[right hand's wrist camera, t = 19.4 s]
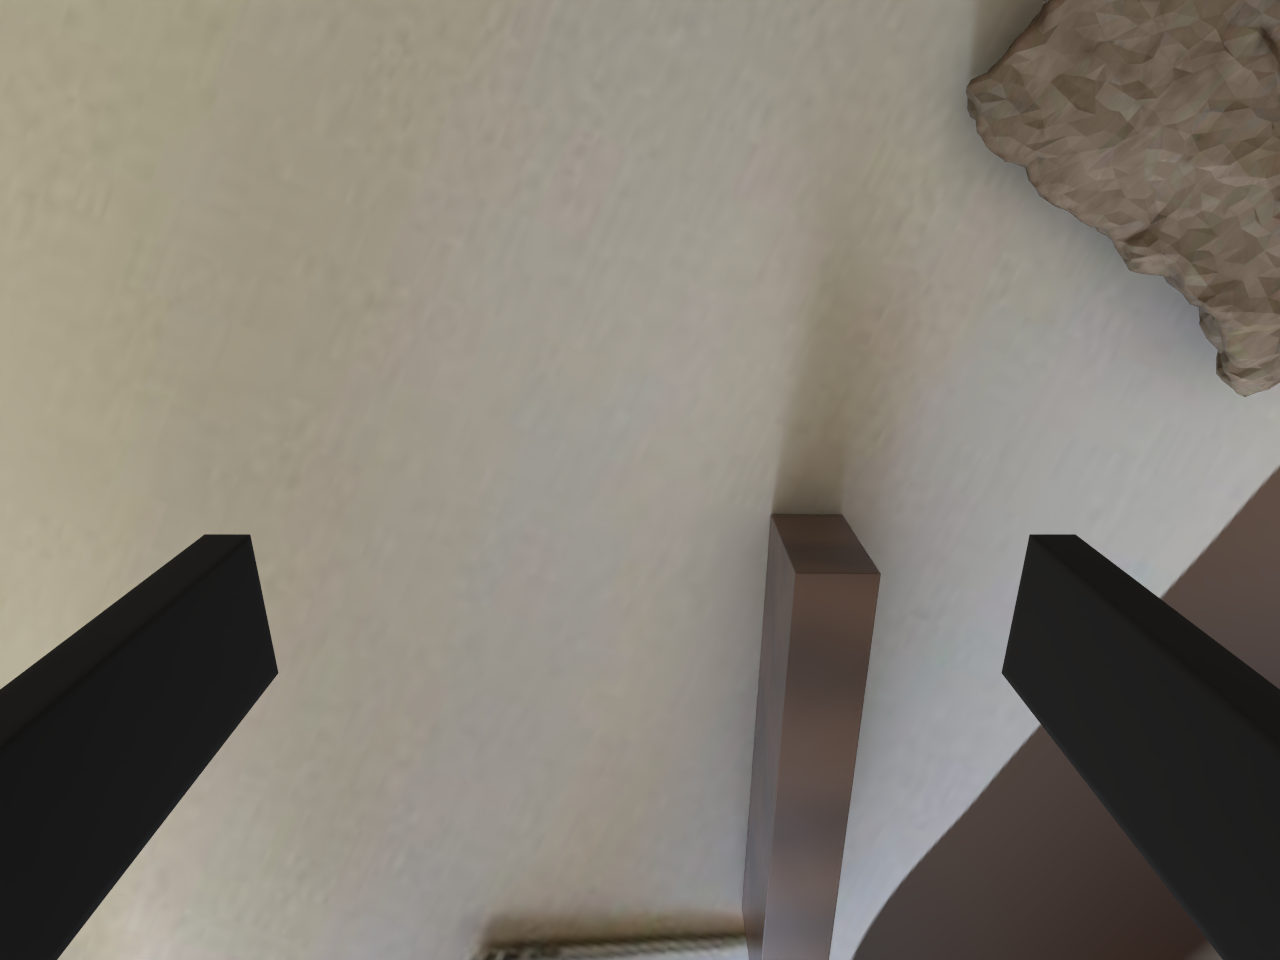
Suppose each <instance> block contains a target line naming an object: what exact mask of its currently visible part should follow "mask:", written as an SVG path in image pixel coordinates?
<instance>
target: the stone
mask: <svg viewBox="0 0 1280 960" xmlns="http://www.w3.org/2000/svg"><path fill="white" fill-rule="evenodd" d="M966 93H967V97H968V111H969V114H970V117H972V118H974V119H975V120H976V127H977V133H978V134H979V135H980V136H981V137H982V139H983V141H984V143H985V145H986V146H987V147H988V148H989V149H990V150H991V151H992V152H993V153H995V154H996V155H998V156H999V157H1001V158H1002V159H1004V161H1006V162H1012V163H1015V164H1018V165H1021V166H1024V167H1025V168H1026V172H1027V175H1028V179H1029V181H1030V182H1031V183H1032V184H1033V185H1034V187H1035V188H1036V190H1037V192H1038V193H1039V195H1040V196H1041V197H1042V198H1044V199H1045V200H1047V201H1048V202H1050V203H1051V204H1053V205H1054V206H1057V207H1059V208H1062V209H1064V210H1067V211H1069V212H1070V213H1071V214H1073V215H1074V216H1075V217H1076V218H1078V219H1079V220H1080V221H1081V222H1083V223H1085V224H1087V225H1088V226H1090V227H1096V229H1097V231H1099V232H1101V233H1102V234H1104V235H1106V236H1108V237H1109V238H1110V239H1111V240H1112V241H1113V243H1114V246H1115V248H1116V250H1117V251H1118V252H1119V254H1120V255H1121V257H1122V258H1123V259H1124V261H1125V263H1126V265H1127V267H1128V268H1129V270H1130V271H1133V272H1137V273H1143V274H1151V275H1161V276H1164V277H1165V279H1166V281H1167V283H1169V284H1170V285H1171V286H1173V287H1174V288H1176V289H1177V290H1178V291H1180V292H1181V293H1182V294H1183V295H1184V296H1185V298H1186V299H1187V300H1188V302H1189V303H1190V304H1191V305H1194V306H1197V307H1199V317H1200V326H1201V328H1202V330H1203V332H1204V334H1205V336H1206V338H1207V339H1208V340H1209V341H1210V342H1211V343H1212V344H1213V345H1214V346H1215V347H1216V348H1217V349H1218V353H1217V357H1216V373H1217V375H1218V376H1219V377H1220V378H1221V379H1222V381H1224V382H1225V383H1226V384H1228V385H1229V386H1230V387H1231V388H1233V389H1234V390H1235V392H1236V393H1238V394H1240V395H1242V396H1244V397H1246V396H1249V395H1251V394H1253V393H1256V392H1260V391H1264V390H1268V389H1270V388H1272V387H1273V386H1275V385H1276V384H1278V383H1280V0H1050V1H1049V2H1047V3H1045V4H1044V6H1043V8H1042V10H1041V12H1040V13H1039V14H1038V15H1037V16H1036V17H1035V18H1034V20H1033V21H1032V22H1031V24H1030V25H1029V26H1028V28H1027V29H1026V30H1025V31H1024V32H1023V33H1022V34H1021V35H1020V36H1019V37H1018V38H1016V40H1015V41H1014V42H1013V43H1012V45H1011V46H1010V47H1009V49H1008V51H1007V53H1006V54H1005V55H1004V56H1003V57H1002V58H1001V60H999V61H998V62H997V63H996V64H995V65H994V66H992V67H991V68H990V69H989V71H988V72H987V73H985V74H983V75H981V76H978V77H976V78H974V79H973V80H971V81H970V83H969V84H968V86H967V89H966Z"/></svg>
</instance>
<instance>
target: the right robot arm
mask: <svg viewBox="0 0 1280 960" xmlns="http://www.w3.org/2000/svg"><path fill="white" fill-rule="evenodd" d="M277 674H278V669H277V664H276V659H275V654H274V650H273V645H272V640H271V635H270V630H269V625H268V620H267V615H266V610H265V605H264V600H263V595H262V590H261V586H260V581H259V576H258V571H257V566H256V561H255V556H254V551H253V546H252V541H251V536H250V535H203V536H202V537H201V538H200V539H198V540H197V541H196V542H194V543H193V544H192V545H190V546H189V547H188V548H186V549H185V550H184V551H182V552H181V553H180V554H178V555H177V556H176V557H174V558H173V559H172V560H171V561H169V562H168V563H167V564H165V565H164V566H163V567H161V568H160V569H159V570H157V571H156V572H155V573H153V574H152V575H151V576H149V577H148V578H147V579H145V580H144V581H143V582H142V583H140V584H139V585H138V586H136V587H135V588H134V589H132V590H131V591H130V592H128V593H127V594H126V595H124V596H123V597H122V598H120V599H119V600H118V601H116V602H115V603H114V604H113V605H111V606H110V607H109V608H107V609H106V610H105V611H103V612H102V613H101V614H99V615H98V616H97V617H95V618H94V619H93V620H91V621H90V622H89V623H87V624H86V625H85V626H84V627H82V628H81V629H80V630H78V631H77V632H76V633H74V634H73V635H72V636H70V637H69V638H68V639H66V640H65V641H64V642H62V643H61V644H60V645H58V646H57V647H56V648H55V649H53V650H52V651H51V652H49V653H48V654H47V655H45V656H44V657H43V658H41V659H40V660H39V661H37V662H36V663H35V664H33V665H32V666H31V667H29V668H28V669H27V670H26V671H24V672H23V673H22V674H20V675H19V676H18V677H16V678H15V679H14V680H12V681H11V682H10V683H8V684H7V685H6V686H4V687H3V688H2V689H0V960H57V959H58V958H59V956H60V955H61V954H62V953H63V951H64V950H65V949H66V947H67V946H68V945H69V944H70V942H71V941H72V940H73V938H74V937H75V936H76V934H77V933H78V932H79V931H80V929H81V928H82V927H83V925H84V924H85V923H86V921H87V920H88V919H89V918H90V916H91V915H92V914H93V912H94V911H95V910H96V909H97V907H98V906H99V905H100V903H101V902H102V901H103V899H104V898H105V897H106V896H107V894H108V893H109V892H110V890H111V889H112V888H113V887H114V885H115V884H116V883H117V881H118V880H119V879H120V877H121V876H122V875H123V874H124V872H125V871H126V870H127V868H128V867H129V866H130V864H131V863H132V862H133V861H134V859H135V858H136V857H137V855H138V854H139V853H140V852H141V850H142V849H143V848H144V846H145V845H146V844H147V842H148V841H149V840H150V839H151V837H152V836H153V835H154V833H155V832H156V831H157V829H158V828H159V827H160V826H161V824H162V823H163V822H164V820H165V819H166V818H167V817H168V815H169V814H170V813H171V811H172V810H173V809H174V807H175V806H176V805H177V804H178V802H179V801H180V800H181V798H182V797H183V796H184V795H185V793H186V792H187V791H188V789H189V788H190V787H191V785H192V784H193V783H194V782H195V780H196V779H197V778H198V776H199V775H200V774H201V772H202V771H203V770H204V769H205V767H206V766H207V765H208V763H209V762H210V761H211V760H212V758H213V757H214V756H215V754H216V753H217V752H218V750H219V749H220V748H221V747H222V745H223V744H224V743H225V741H226V740H227V739H228V737H229V736H230V735H231V734H232V732H233V731H234V730H235V728H236V727H237V726H238V725H239V723H240V722H241V721H242V719H243V718H244V717H245V715H246V714H247V713H248V712H249V710H250V709H251V708H252V706H253V705H254V704H255V703H256V701H257V700H258V699H259V697H260V696H261V695H262V693H263V692H264V691H265V690H266V688H267V687H268V686H269V684H270V683H271V682H272V680H273V679H274V678H275V677H276V675H277ZM1002 674H1003V675H1004V677H1005V678H1006V679H1007V680H1008V682H1009V683H1010V684H1011V686H1012V687H1013V688H1014V690H1015V691H1016V692H1017V693H1018V695H1019V696H1020V697H1021V699H1022V700H1023V701H1024V703H1025V704H1026V705H1027V706H1028V708H1029V709H1030V710H1031V712H1032V713H1033V714H1034V715H1035V717H1036V718H1037V719H1038V721H1039V722H1040V723H1041V725H1042V726H1043V727H1044V728H1045V730H1046V731H1047V732H1048V734H1049V735H1050V736H1051V738H1052V739H1053V740H1054V741H1055V743H1056V744H1057V745H1058V747H1059V748H1060V749H1061V750H1062V752H1063V753H1064V754H1065V756H1066V757H1067V758H1068V759H1069V761H1070V762H1071V763H1072V765H1073V766H1074V767H1075V769H1076V770H1077V771H1078V772H1079V774H1080V775H1081V776H1082V778H1083V779H1084V780H1085V782H1086V783H1087V784H1088V785H1089V787H1090V788H1091V789H1092V791H1093V792H1094V793H1095V795H1096V796H1097V797H1098V798H1099V800H1100V801H1101V802H1102V804H1103V805H1104V806H1105V807H1106V809H1107V810H1108V811H1109V813H1110V814H1111V815H1112V817H1113V818H1114V819H1115V820H1116V822H1117V823H1118V824H1119V826H1120V827H1121V828H1122V829H1123V831H1124V832H1125V833H1126V835H1127V836H1128V837H1129V838H1130V840H1131V841H1132V842H1133V844H1134V845H1135V846H1136V848H1137V849H1138V850H1139V852H1140V853H1141V854H1142V855H1143V857H1144V858H1145V859H1146V861H1147V862H1148V863H1149V864H1150V866H1151V867H1152V868H1153V870H1154V871H1155V872H1156V874H1157V875H1158V876H1159V877H1160V879H1161V880H1162V881H1163V883H1164V884H1165V885H1166V887H1167V888H1168V889H1169V890H1170V892H1171V893H1172V894H1173V896H1174V897H1175V898H1176V899H1177V901H1178V902H1179V903H1180V905H1181V906H1182V907H1183V909H1184V910H1185V911H1186V912H1187V914H1188V915H1189V916H1190V918H1191V919H1192V920H1193V921H1194V923H1195V924H1196V925H1197V927H1198V928H1199V929H1200V931H1201V932H1202V933H1203V934H1204V936H1205V937H1206V938H1207V940H1208V941H1209V942H1210V943H1211V945H1212V946H1213V947H1214V949H1215V950H1216V951H1217V952H1218V954H1219V955H1220V956H1221V958H1222V959H1223V960H1280V689H1278V688H1277V687H1276V686H1274V685H1273V684H1272V683H1270V682H1269V681H1268V680H1266V679H1265V678H1264V677H1262V676H1261V675H1260V674H1258V673H1257V672H1256V671H1254V670H1253V669H1252V668H1251V667H1249V666H1248V665H1246V664H1245V663H1244V662H1243V661H1241V660H1240V659H1239V658H1237V657H1236V656H1235V655H1233V654H1232V653H1231V652H1229V651H1228V650H1227V649H1225V648H1224V647H1223V646H1221V645H1220V644H1219V643H1218V642H1216V641H1215V640H1214V639H1212V638H1211V637H1210V636H1208V635H1207V634H1206V633H1204V632H1203V631H1202V630H1200V629H1199V628H1198V627H1196V626H1195V625H1194V624H1193V623H1191V622H1190V621H1189V620H1187V619H1186V618H1185V617H1183V616H1182V615H1181V614H1179V613H1178V612H1177V611H1175V610H1174V609H1173V608H1171V607H1170V606H1169V605H1167V604H1166V603H1165V602H1164V601H1162V600H1161V599H1160V598H1158V597H1157V596H1156V595H1154V594H1153V593H1152V592H1150V591H1149V590H1148V589H1146V588H1145V587H1144V586H1142V585H1141V584H1140V583H1138V582H1137V581H1136V580H1135V579H1133V578H1132V577H1131V576H1129V575H1128V574H1127V573H1125V572H1124V571H1123V570H1121V569H1120V568H1119V567H1117V566H1116V565H1115V564H1113V563H1112V562H1111V561H1109V560H1108V559H1107V558H1106V557H1104V556H1103V555H1102V554H1100V553H1099V552H1098V551H1096V550H1095V549H1094V548H1092V547H1091V546H1090V545H1088V544H1087V543H1086V542H1084V541H1083V540H1082V539H1080V538H1079V537H1078V536H1077V535H1030V536H1029V541H1028V546H1027V551H1026V556H1025V561H1024V566H1023V571H1022V576H1021V581H1020V586H1019V590H1018V595H1017V600H1016V605H1015V610H1014V615H1013V620H1012V625H1011V630H1010V635H1009V640H1008V645H1007V650H1006V654H1005V659H1004V664H1003V669H1002Z"/></svg>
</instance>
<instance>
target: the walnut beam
mask: <svg viewBox="0 0 1280 960" xmlns="http://www.w3.org/2000/svg"><path fill="white" fill-rule="evenodd" d="M879 582H880V572H879V571H878V569H877V567H876V566H875V564H874V563H873V561H872V560H871V558H870V557H869V555H868V554H867V552H866V551H865V549H864V547H863V546H862V544H861V543H860V541H859V540H858V538H857V537H856V535H855V534H854V532H853V530H852V529H851V527H850V526H849V524H848V523H847V521H846V520H845V518H844V517H843V515H771V520H770V534H769V547H768V561H767V575H766V588H765V602H764V616H763V629H762V643H761V657H760V670H759V684H758V698H757V711H756V725H755V739H754V752H753V766H752V780H751V793H750V807H749V820H748V834H747V848H746V861H745V875H744V889H743V902H742V912H743V919H744V926H745V933H746V940H747V947H748V954H749V960H829V955H830V947H831V940H832V932H833V925H834V917H835V910H836V903H837V895H838V888H839V880H840V873H841V865H842V858H843V850H844V843H845V835H846V828H847V821H848V813H849V806H850V798H851V791H852V783H853V776H854V768H855V761H856V753H857V746H858V739H859V731H860V724H861V716H862V709H863V701H864V694H865V686H866V679H867V671H868V664H869V656H870V649H871V642H872V634H873V627H874V619H875V612H876V604H877V597H878V589H879Z"/></svg>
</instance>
